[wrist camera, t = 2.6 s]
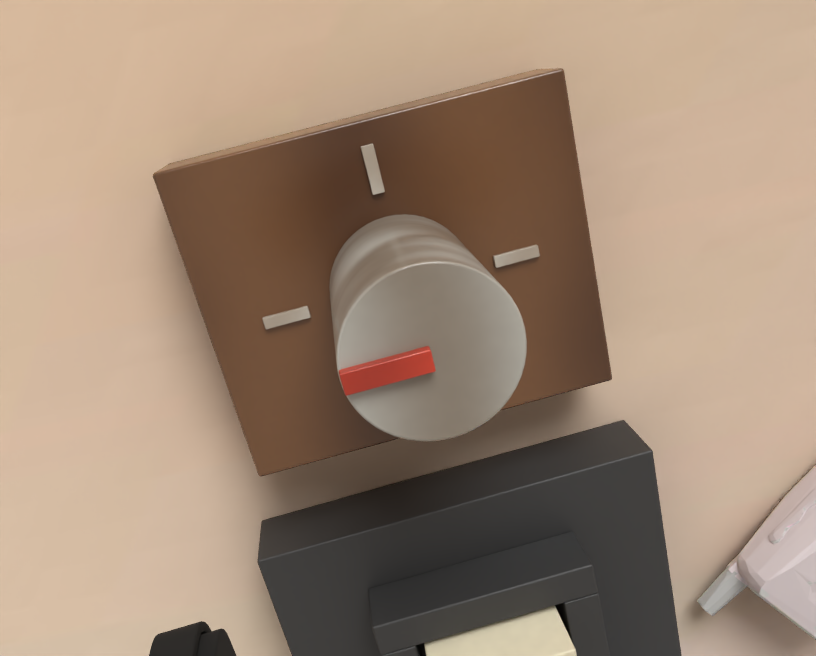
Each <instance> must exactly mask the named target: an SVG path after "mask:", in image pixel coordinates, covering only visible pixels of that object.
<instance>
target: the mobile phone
mask: <svg viewBox="0 0 816 656" xmlns="http://www.w3.org/2000/svg"><path fill="white" fill-rule="evenodd" d="M747 586H748V587H749V588H750V589H751V590H752V591H753V592H754V593H755V594H756V595H757V596H759V597H760V598H761V599H763V600H764V601H765V602H767V603H768V604H769V605H771V606H772V607H773V608H775V609H776V610H777V611H778V612H780V613H781V614H782V615H784V616H785V617H786V618H788V619H789V620H790V621H792V622H793V623H794V624H796V625H797V626H798V627H799V628H801V629H802V630H803V631H805V632H806V633H807V634H809V635H810V636H811V637H813V638H814V639H815V640H816V465H815V466H814V467H813V468H812V469H811V470H810V471H809V472H808V473H807V474H806V475H805V476H804V477H803V478H802V479H801V480H800V481H799V482H798V483H797V484H796V485H795V486H794V487H793V488H792V489H791V490H790V491H789V492H788V493H787V494H786V495H785V496H784V498H783V499H782V500H781V501H780V503H779V504H778V505H777V506H776V507H775V509H774V510H773V511H772V512H771V513H770V515H769V516H768V517H767V518H766V520H765V521H764V522H763V524H762V525H761V526H760V528H759V529H758V530H757V531H756V533H755V534H754V535H753V537H752V538H751V539H750V540H749V542H748V543H747V544H746V546H745V547H744V548H743V550H742V551H741V552H740V553H739V554H738V555H737V556H736V557H735V558H734V559H733V560H732V561H731V562H730V563H729V564H728V565H727V568H726V569H725V570H724V571H723V572H722V573H721V574H720V575H719V577H718V578H717V579H716V580H715V581H714V582H713V583H712V584H711V585H710V587H709V588H708V589H707V590H706V591H705V592H704V593H703V594H702V596H701V597H700V598H699V599H698V600H697V601H698V603H699V604H700V605H701V607H702V608H703V609H704V610H705V611H706V612H708V613H709V614H710V615H712V616H713V615H715V614H716V613H717V612H718V611H719V610H720V609H722V608H723V607H724V606H725V605H726V604H727V603H728V602H730V601H731V600H732V599H733V598H734V597H735V596H736V595H738V594H739V593H740V592H741V591H742V590H743V589H745V588H746V587H747Z"/></svg>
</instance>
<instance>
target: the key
mask: <svg viewBox="0 0 816 656" xmlns="http://www.w3.org/2000/svg"><path fill="white" fill-rule="evenodd" d="M424 647H425V652H426V656H577V654H576V649H575V647H574V645H573V643H572V641H571V639H570V637H569V634H568V632H567V630H566V628H565V626H564V624H563V622H562V619H561V617H560V615H559V613H558V611H557V609H556V607H555V605H554V606H551V607H547V608H544V609H540V610H537V611H533V612H530V613H526V614H523V615H519V616H516V617H513V618H509V619H506V620H502V621H499V622H495V623H492V624H488V625H485V626H481V627H478V628H474V629H471V630H467V631H464V632H460V633H457V634H454V635H450V636H447V637H443V638H440V639H436V640H433V641H429V642H426V643H424Z"/></svg>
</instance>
